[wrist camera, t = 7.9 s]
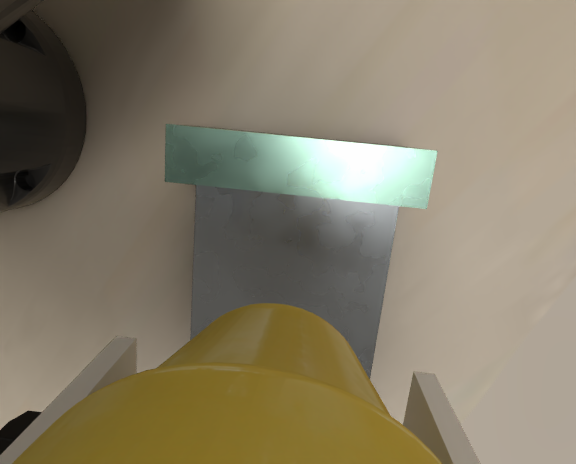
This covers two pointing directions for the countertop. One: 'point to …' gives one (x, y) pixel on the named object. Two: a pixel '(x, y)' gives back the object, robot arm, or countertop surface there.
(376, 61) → the countertop surface
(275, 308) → the plant pot
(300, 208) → the vise base
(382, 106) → the countertop surface
